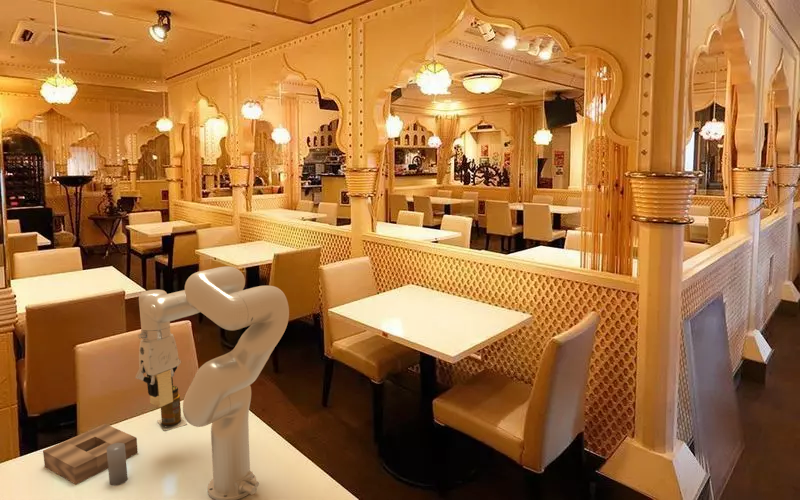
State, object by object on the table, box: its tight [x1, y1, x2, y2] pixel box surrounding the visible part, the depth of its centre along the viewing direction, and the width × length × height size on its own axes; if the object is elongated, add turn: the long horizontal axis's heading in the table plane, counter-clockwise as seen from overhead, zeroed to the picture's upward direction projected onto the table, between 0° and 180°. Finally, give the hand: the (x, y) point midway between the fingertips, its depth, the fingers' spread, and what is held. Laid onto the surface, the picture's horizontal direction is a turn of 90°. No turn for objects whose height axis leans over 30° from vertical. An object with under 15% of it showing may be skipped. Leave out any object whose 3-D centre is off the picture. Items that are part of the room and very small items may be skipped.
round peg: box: [107, 443, 129, 486], centre depth 143 cm, size 4×4×10 cm
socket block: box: [42, 423, 139, 485], centre depth 152 cm, size 16×18×5 cm
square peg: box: [149, 370, 173, 408], centre depth 153 cm, size 4×4×10 cm
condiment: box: [156, 385, 187, 431], centre depth 174 cm, size 7×8×12 cm
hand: (161, 391), depth 153 cm, fingers closed on square peg, 4 cm apart
